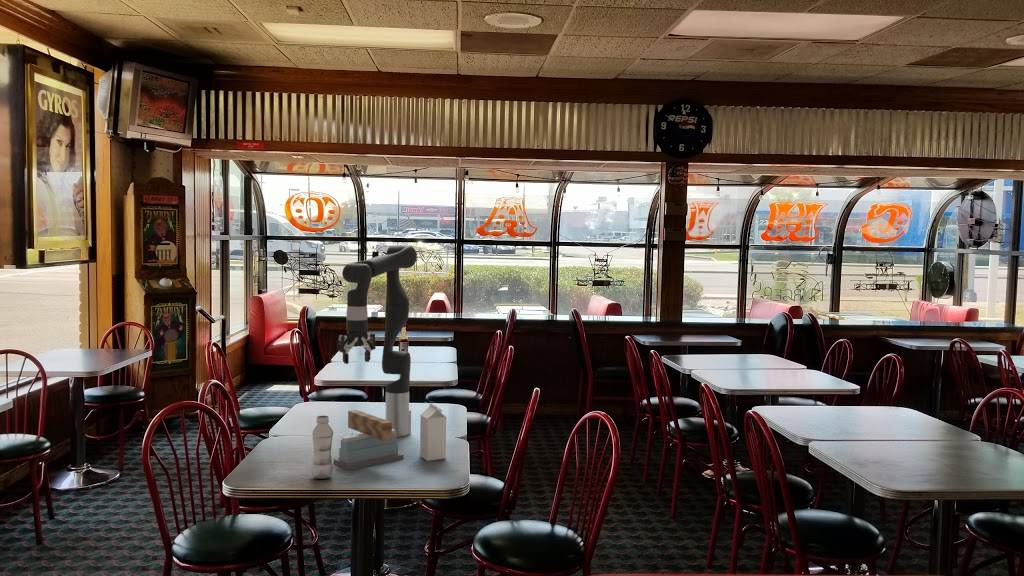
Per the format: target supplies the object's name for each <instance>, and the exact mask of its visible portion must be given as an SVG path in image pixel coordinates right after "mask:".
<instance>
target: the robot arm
mask: <svg viewBox="0 0 1024 576" xmlns="http://www.w3.org/2000/svg"><path fill="white" fill-rule="evenodd" d="M417 259H418V258H417V251H416V248H415V247H413V246H411V245H408V244H401V245H399V244H398V245H397V244H396V245H395V244H393V245H390V246H389V247H388V248H387V250H386V253H385V254H383V255H377V256H373V257H371V258H368V259H366V260H360V261H354V262H349V263H347V264H346V265H345V266H344V267H343V269H342V278H343V280H344V281H346V283H347V282H348V283H352V284H357V285H356V288H354V289H350V290H348V292H347V295H346V297H347V299H346V301H347V302H346V304H347V305H346V306H347V307H346V320H345V321H346V322H345V323H346V325H345V327H346V335H342V334H339V335H338V337H337V338H338V339H337V351H338V352H340V353H342V362H343V364H345V365H348V364H349V355H350V354H349V352H350V351H351V349H352V348H353V347H354V348H355V347H362V348H363V349H364V362H365V363H370V360H371V352H372V351H374V350H376V334H375V333H373V332H369V333H368V319H369V318H368V292H369V288H370V286H371V285H370V284H371V282H372V279H373V278H375V277H377V276H380V275H383V274H385V273H386V296H385V297H386V299H385V311H384V312H385V313H384V315H385V317H384V322H385V324H384V339H383V349H382V357H381V369H382V372H383V373H384V374H386V375H399V379H397V380H395V381H391V382H388V383H387V384H386V385H385V420H387V421H390V422H392V429H394V430H396V434H397V438H399V437H400V438H401V437H406V436H408V435H410V434H412V410H411V409H410V382H411V381H410V379H411V360H412V359H411V358H412V357H411V354H410V352H409V351H406V350H404V351H403V350H394V346H395V345H394V344H395V342H396V339H397V337H398V335H399V333H401V331H402V330H403V328H404V327H405V325H406V323H407V322H408V320H409V317H410V316H409V313H410V301H409V297H408V295H407V293H406V291H405V290H404V288H403V286H402V284H401V280H400V269H409V268H412V267H413V266H415V264H416V263H417ZM367 340H368V342H367ZM345 342H346V343H345Z"/></svg>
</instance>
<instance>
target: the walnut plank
mask: <svg viewBox="0 0 1024 576" xmlns="http://www.w3.org/2000/svg"><path fill="white" fill-rule="evenodd" d="M347 428H349V429H351V430H354V431H356V432H358V433H360V434H363V433H364V434H366V435H369V436H372V437H374V438H377V439H379V440H382V441H387V440H392V422H390V421H387V420H386V419H385V418H381V417H378V416H375V415H372V414H369V413H366V412H364V411H361V410H357V409H352V410H348V411H347Z"/></svg>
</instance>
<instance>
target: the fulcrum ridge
mask: <svg viewBox="0 0 1024 576" xmlns="http://www.w3.org/2000/svg"><path fill="white" fill-rule="evenodd" d="M338 451H339V453H338V457H337V458H335V457H334V458H333V464H335V465H337V466H338V467H341V468H343V469H345V470H347V469H348V470H349V469H350V470H353V468H355V469H359V467H360V468H364V466H365V467H369V466H370V467H371V466H374V465H379V464H380V465H381V464H384V463H389V462H394V461H400V460H404V459H405V454H403V453H401V452H399V442H398V437H397V434H396V430H394V429H392V440H387V441H382V440H379V439H377V438H374V437H372V436H369V435H366V434H364V433H358V434H352V435H347V436H341V439H340V447H339V450H338ZM350 470H349V471H350Z"/></svg>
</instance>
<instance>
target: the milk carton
mask: <svg viewBox="0 0 1024 576" xmlns="http://www.w3.org/2000/svg"><path fill="white" fill-rule="evenodd" d="M419 428H420V432H419V433H420V434H419V436H420V437H419V438H420V441H419V442H420V443H419V445H420V447H419V448H420V449H419V451H420V452H419V456H420V457H421V458H422V459H424V460H426V462H429V461H436V460H437V461H438V460H446V458H447V416H446V415H445V414H443V410H442V408H440V407H438V406H437V405H435V404H433V403H431V402H429V406H428V407H427V408H426V409H425V410H424V411H423V412H422V413H421V414H420V427H419Z"/></svg>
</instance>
